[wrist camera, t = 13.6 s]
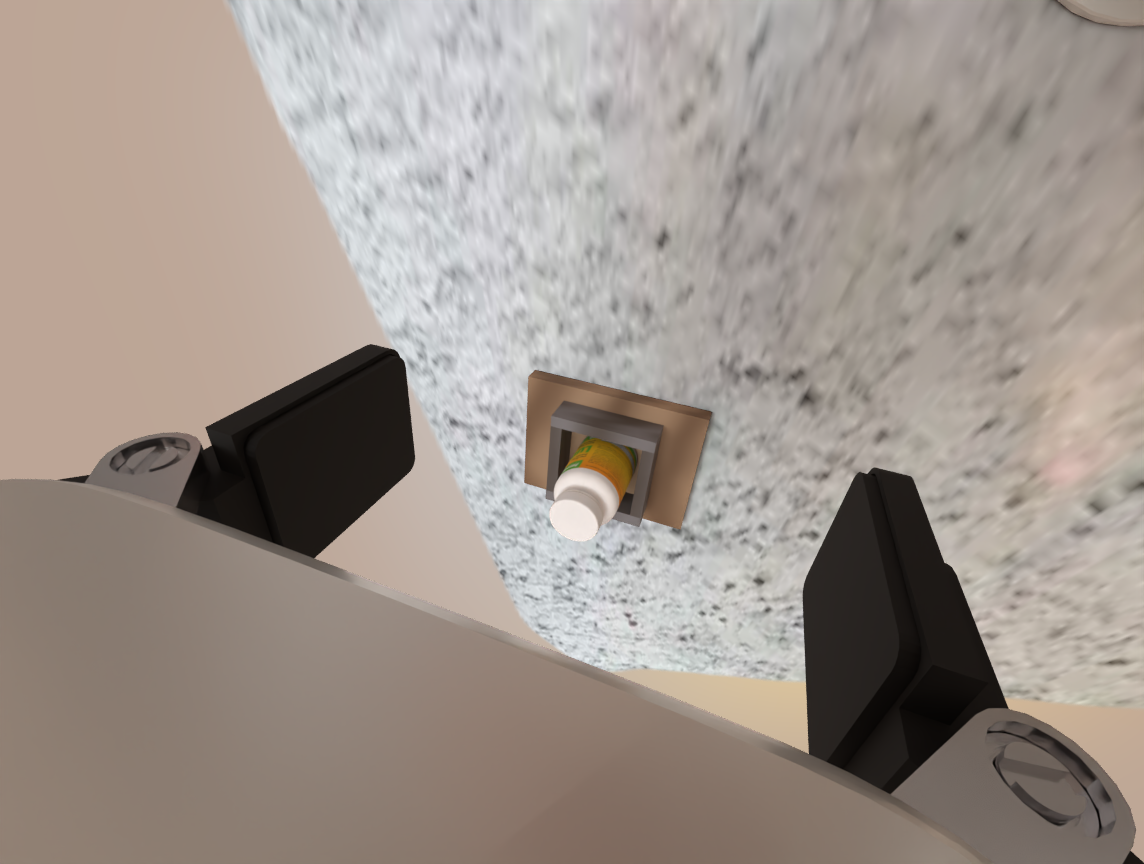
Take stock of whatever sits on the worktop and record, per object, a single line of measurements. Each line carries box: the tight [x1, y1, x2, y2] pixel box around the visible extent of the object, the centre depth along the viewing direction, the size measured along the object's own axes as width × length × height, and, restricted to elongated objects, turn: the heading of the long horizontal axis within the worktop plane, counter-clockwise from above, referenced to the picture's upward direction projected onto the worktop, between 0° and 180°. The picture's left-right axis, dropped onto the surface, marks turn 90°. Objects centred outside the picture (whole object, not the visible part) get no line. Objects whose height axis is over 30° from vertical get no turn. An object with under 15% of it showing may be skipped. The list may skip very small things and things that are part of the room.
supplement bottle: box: [549, 436, 637, 541], centre depth 42 cm, size 5×5×10 cm
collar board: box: [524, 370, 712, 529], centre depth 45 cm, size 16×12×4 cm
